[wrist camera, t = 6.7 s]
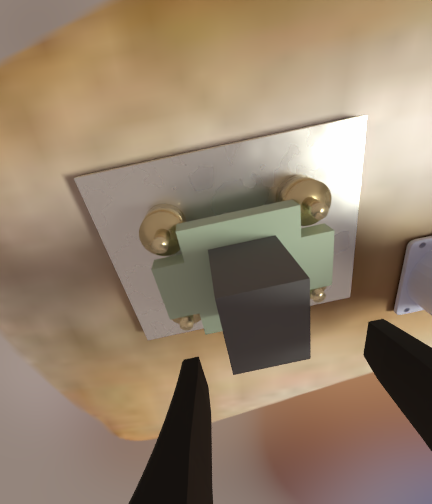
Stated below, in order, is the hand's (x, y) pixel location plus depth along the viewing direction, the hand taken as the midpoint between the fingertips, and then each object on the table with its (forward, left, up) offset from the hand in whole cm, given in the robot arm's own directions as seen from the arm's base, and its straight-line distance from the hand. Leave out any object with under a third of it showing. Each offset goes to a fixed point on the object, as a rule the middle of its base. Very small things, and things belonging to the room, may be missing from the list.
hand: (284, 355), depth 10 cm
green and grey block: (0, 0, -7) cm, 7 cm away
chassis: (0, -1, -10) cm, 10 cm away
